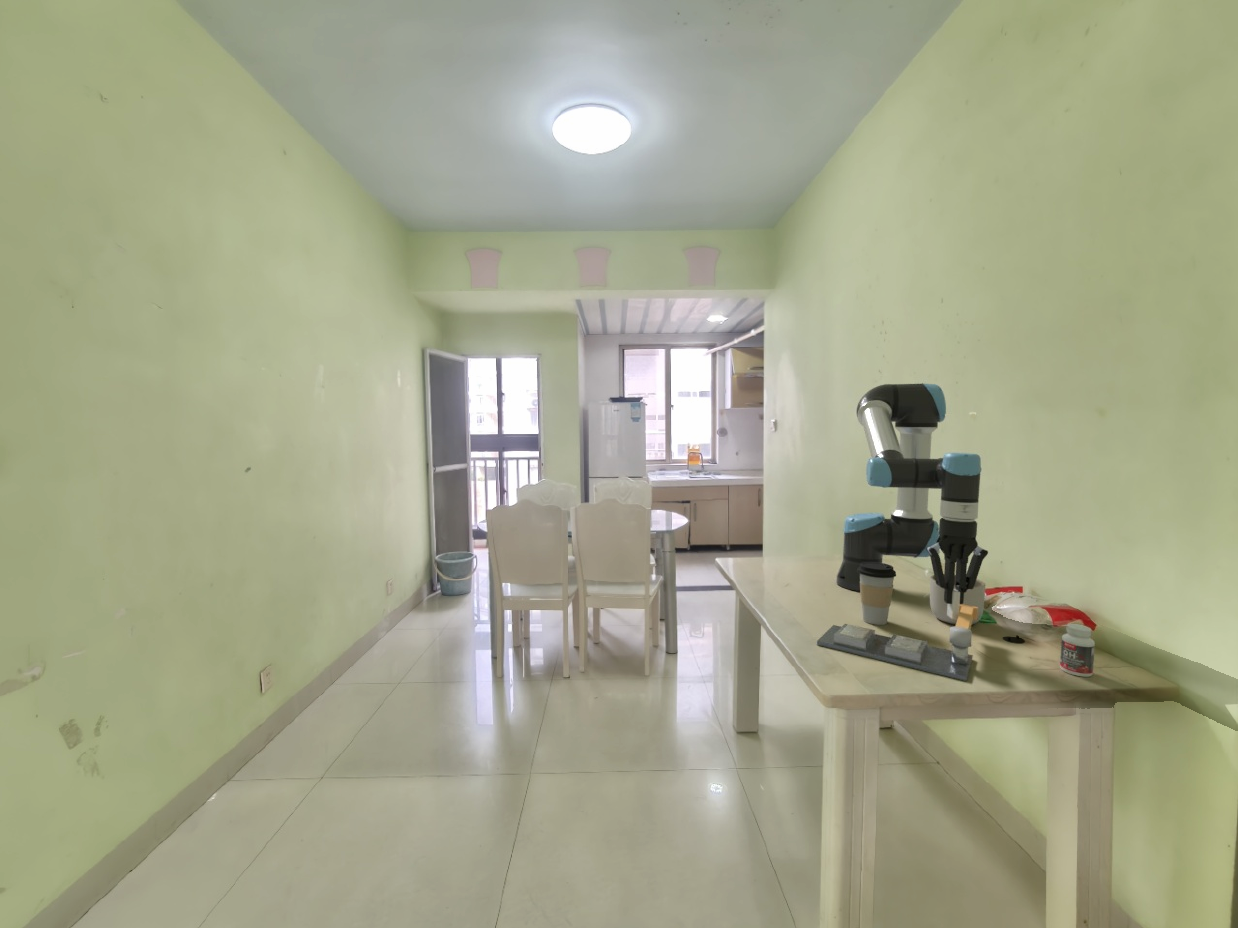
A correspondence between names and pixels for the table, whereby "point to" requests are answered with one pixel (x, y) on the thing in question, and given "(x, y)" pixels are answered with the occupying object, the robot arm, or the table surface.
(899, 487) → the robot arm
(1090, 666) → the pill bottle
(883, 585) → the coffee cup
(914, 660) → the grey switch panel
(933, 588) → the planter
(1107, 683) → the table surface
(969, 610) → the swing arm
